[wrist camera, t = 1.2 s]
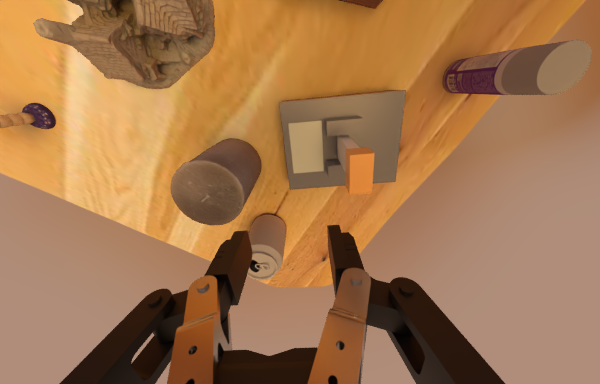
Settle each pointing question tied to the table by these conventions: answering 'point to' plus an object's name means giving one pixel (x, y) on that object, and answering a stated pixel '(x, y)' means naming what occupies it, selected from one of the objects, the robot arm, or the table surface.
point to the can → (266, 246)
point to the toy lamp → (30, 117)
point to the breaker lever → (356, 165)
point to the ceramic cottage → (138, 37)
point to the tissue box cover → (365, 2)
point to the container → (521, 70)
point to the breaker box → (341, 121)
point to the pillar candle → (217, 182)
